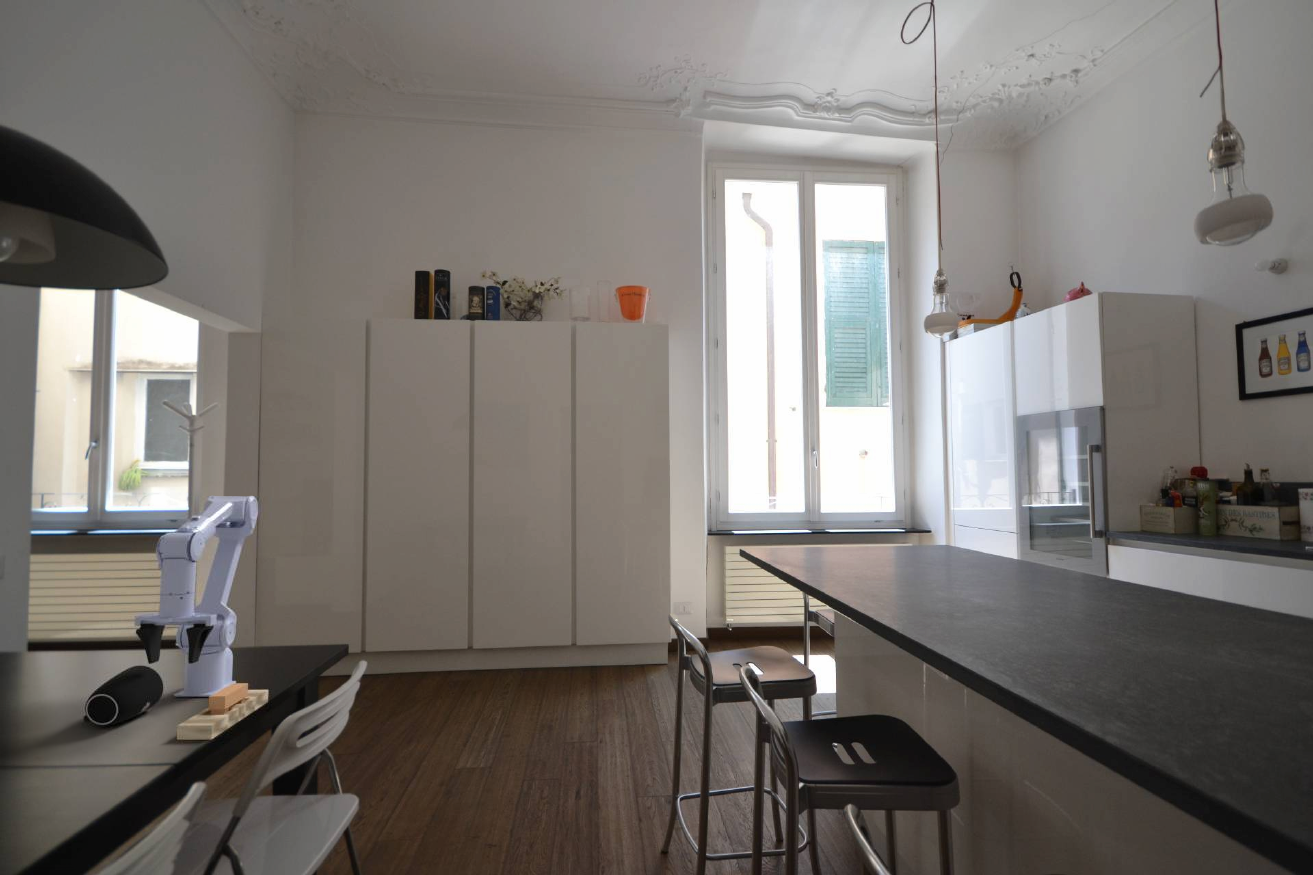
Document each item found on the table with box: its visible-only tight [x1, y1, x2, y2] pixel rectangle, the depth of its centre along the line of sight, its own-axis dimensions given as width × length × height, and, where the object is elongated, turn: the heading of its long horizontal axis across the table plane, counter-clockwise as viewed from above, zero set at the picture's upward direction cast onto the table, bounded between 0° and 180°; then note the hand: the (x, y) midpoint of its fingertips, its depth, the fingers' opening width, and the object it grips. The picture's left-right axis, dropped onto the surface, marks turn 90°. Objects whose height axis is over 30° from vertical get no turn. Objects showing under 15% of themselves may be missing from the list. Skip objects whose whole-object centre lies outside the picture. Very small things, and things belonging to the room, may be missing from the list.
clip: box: [208, 682, 249, 715], centre depth 133 cm, size 8×3×6 cm, turn 4°
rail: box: [176, 689, 269, 741], centre depth 132 cm, size 20×6×2 cm, turn 4°
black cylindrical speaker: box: [82, 664, 164, 727], centre depth 131 cm, size 12×9×10 cm
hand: (173, 662), depth 135 cm, fingers open, 7 cm apart
